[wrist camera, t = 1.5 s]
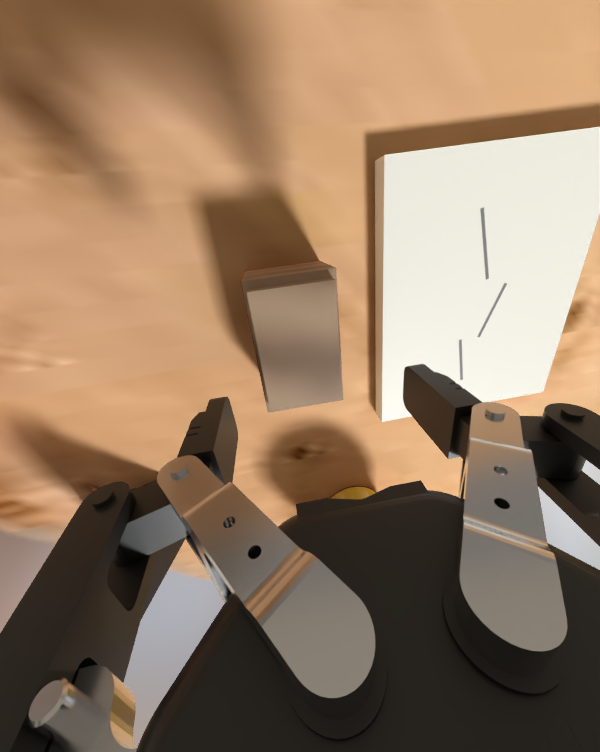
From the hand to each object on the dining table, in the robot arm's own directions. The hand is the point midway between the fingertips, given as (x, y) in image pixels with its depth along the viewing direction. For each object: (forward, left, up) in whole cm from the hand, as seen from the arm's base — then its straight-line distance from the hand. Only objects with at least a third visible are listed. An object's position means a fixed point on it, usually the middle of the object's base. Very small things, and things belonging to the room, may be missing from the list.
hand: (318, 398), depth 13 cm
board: (0, +15, -11) cm, 19 cm away
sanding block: (0, 0, -11) cm, 11 cm away
